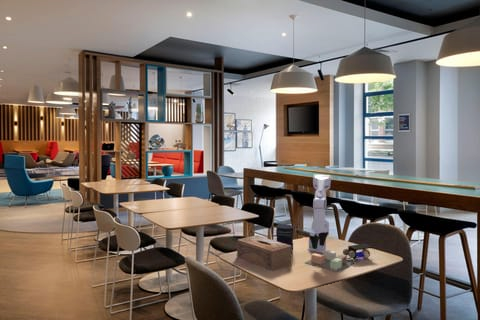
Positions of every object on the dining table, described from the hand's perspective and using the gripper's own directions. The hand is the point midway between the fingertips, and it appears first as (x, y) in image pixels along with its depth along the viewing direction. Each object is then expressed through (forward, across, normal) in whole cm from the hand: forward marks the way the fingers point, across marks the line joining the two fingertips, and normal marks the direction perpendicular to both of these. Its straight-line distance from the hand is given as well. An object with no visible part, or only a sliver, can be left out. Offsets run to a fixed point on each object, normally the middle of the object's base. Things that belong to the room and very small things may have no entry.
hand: (318, 247), depth 196 cm
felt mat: (+8, +6, -4) cm, 11 cm away
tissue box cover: (+9, -16, +23) cm, 30 cm away
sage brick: (+8, 0, -10) cm, 13 cm away
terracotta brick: (+8, 0, 0) cm, 8 cm away
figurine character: (+8, +20, -13) cm, 26 cm away
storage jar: (+9, +4, +23) cm, 25 cm away
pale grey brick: (+8, +10, -2) cm, 13 cm away
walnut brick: (+8, +7, -10) cm, 15 cm away
